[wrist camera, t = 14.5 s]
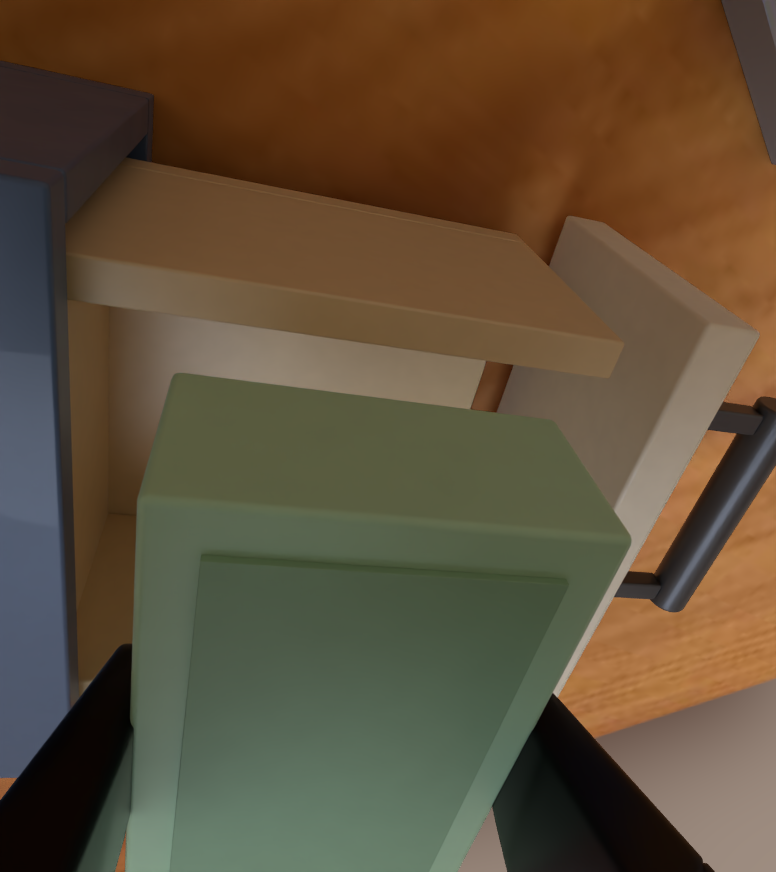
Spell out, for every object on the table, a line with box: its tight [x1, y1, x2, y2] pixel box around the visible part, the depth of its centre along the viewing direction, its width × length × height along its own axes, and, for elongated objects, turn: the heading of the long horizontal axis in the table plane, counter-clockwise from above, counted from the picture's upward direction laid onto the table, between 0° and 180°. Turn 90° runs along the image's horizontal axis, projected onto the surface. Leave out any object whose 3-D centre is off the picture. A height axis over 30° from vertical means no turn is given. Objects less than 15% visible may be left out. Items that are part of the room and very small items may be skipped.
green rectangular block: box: [125, 373, 632, 872], centre depth 9 cm, size 5×8×3 cm, turn 167°
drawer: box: [65, 158, 776, 697], centre depth 18 cm, size 18×12×7 cm
